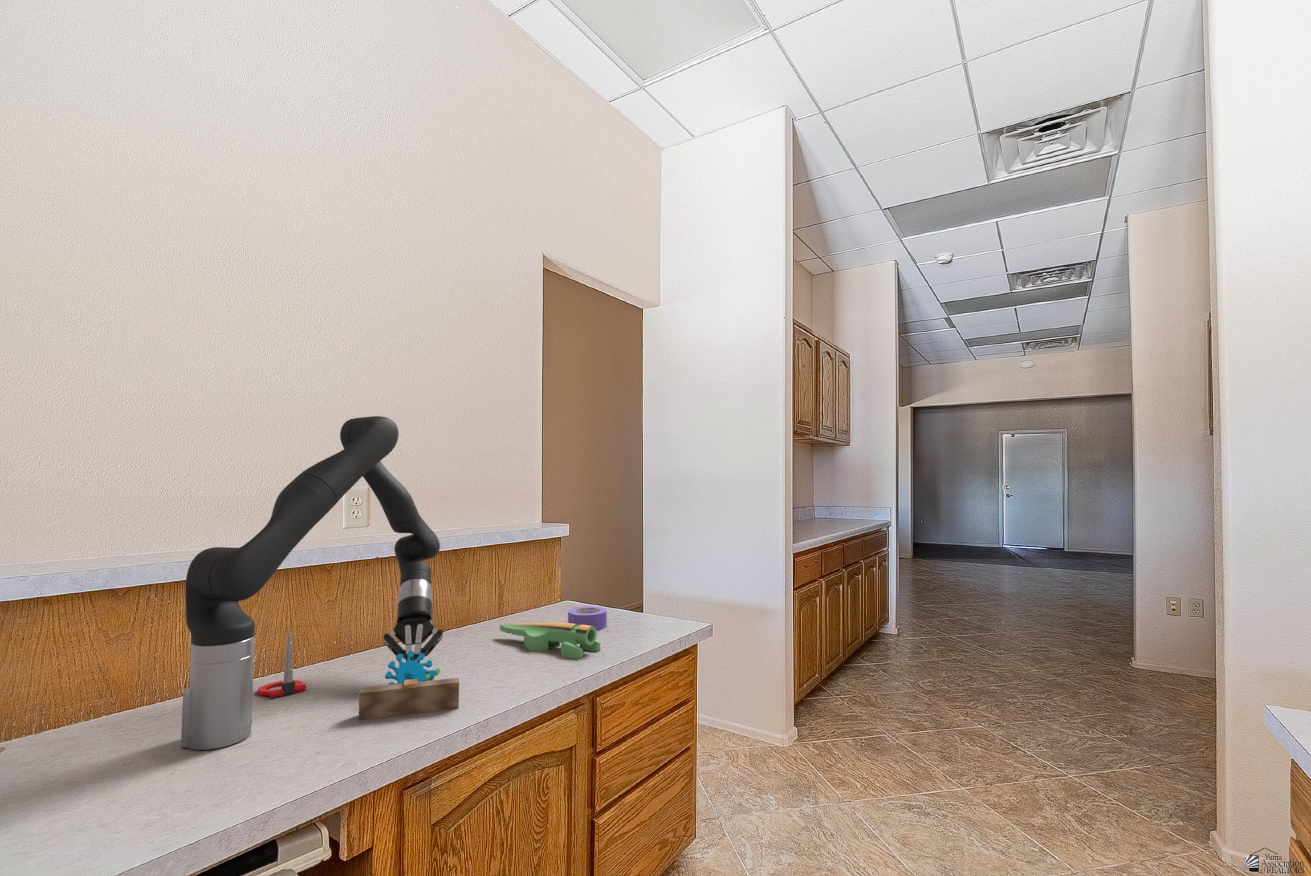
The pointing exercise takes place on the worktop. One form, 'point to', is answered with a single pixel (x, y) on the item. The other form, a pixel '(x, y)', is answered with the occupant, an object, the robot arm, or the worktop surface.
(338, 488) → the robot arm
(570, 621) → the tape roll
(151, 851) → the worktop surface
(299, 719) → the worktop surface
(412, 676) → the gear
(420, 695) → the rail
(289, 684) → the tow hook
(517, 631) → the green elongated piece
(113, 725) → the worktop surface
